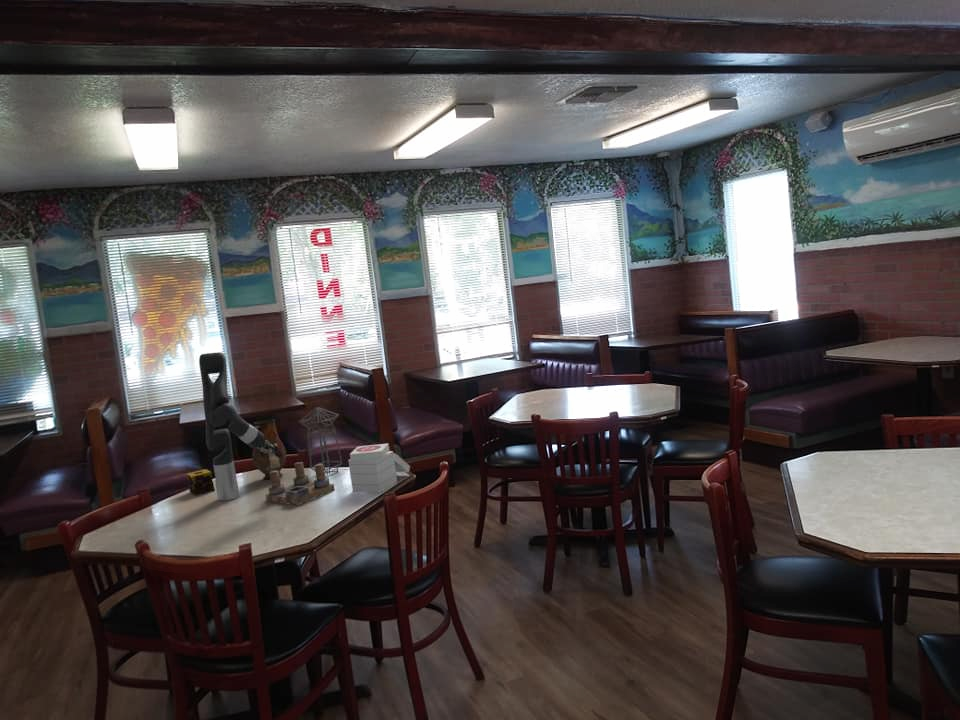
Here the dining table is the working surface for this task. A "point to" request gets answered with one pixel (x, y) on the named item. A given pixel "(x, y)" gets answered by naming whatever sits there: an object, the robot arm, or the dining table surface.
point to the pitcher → (261, 458)
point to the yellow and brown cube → (200, 482)
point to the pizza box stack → (374, 468)
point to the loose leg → (274, 460)
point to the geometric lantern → (322, 436)
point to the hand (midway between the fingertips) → (277, 455)
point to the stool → (299, 486)
